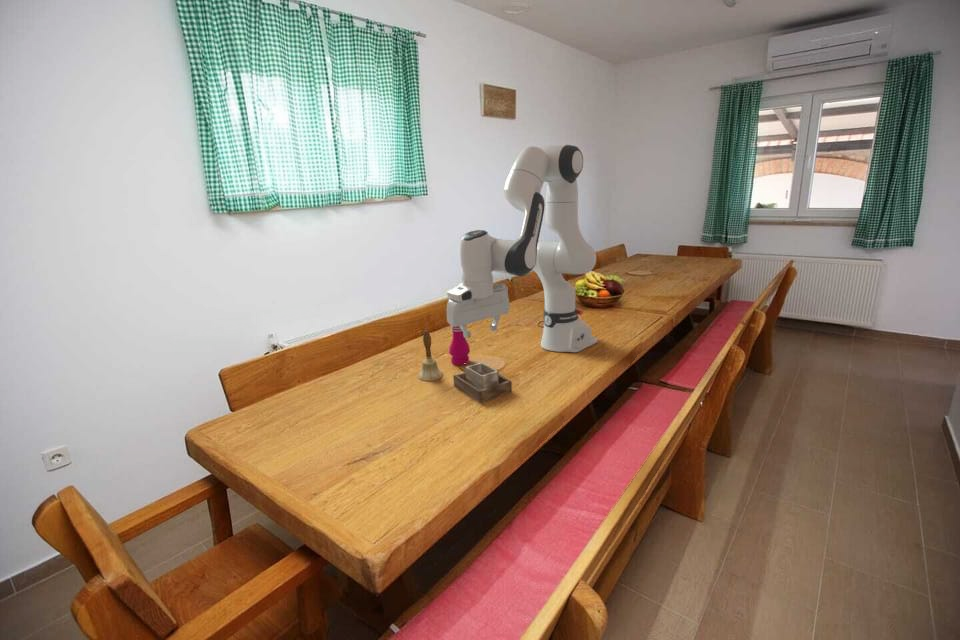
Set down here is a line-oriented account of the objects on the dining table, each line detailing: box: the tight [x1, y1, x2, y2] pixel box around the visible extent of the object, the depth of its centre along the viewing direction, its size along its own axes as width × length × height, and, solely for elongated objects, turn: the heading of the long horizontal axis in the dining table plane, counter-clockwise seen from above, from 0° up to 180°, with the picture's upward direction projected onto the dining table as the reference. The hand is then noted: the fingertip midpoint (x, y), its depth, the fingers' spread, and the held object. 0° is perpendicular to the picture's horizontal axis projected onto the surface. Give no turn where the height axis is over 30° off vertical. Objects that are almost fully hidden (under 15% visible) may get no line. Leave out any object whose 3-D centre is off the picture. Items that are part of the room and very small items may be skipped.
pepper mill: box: [449, 325, 471, 366], centre depth 162 cm, size 7×7×20 cm
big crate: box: [453, 371, 513, 404], centre depth 143 cm, size 12×15×4 cm
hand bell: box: [417, 329, 444, 382], centre depth 152 cm, size 8×8×16 cm
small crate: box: [465, 361, 500, 390], centre depth 142 cm, size 6×9×6 cm, turn 33°
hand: (480, 333), depth 138 cm, fingers open, 8 cm apart
